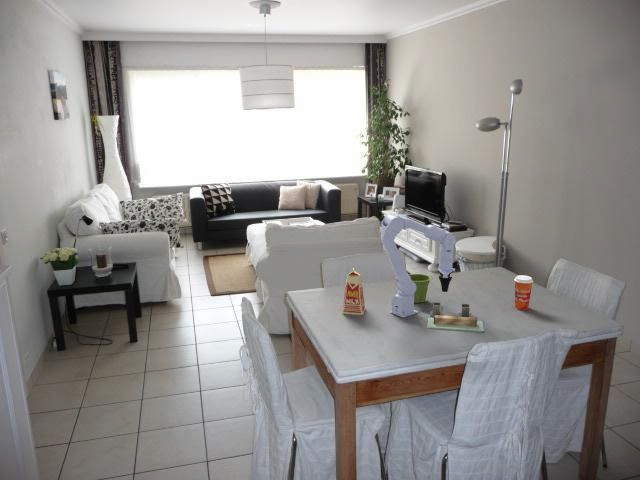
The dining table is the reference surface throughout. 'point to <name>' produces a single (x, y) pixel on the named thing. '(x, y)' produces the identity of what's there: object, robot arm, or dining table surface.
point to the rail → (455, 320)
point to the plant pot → (420, 286)
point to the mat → (455, 326)
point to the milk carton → (354, 295)
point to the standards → (464, 313)
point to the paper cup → (522, 291)
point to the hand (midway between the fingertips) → (444, 288)
